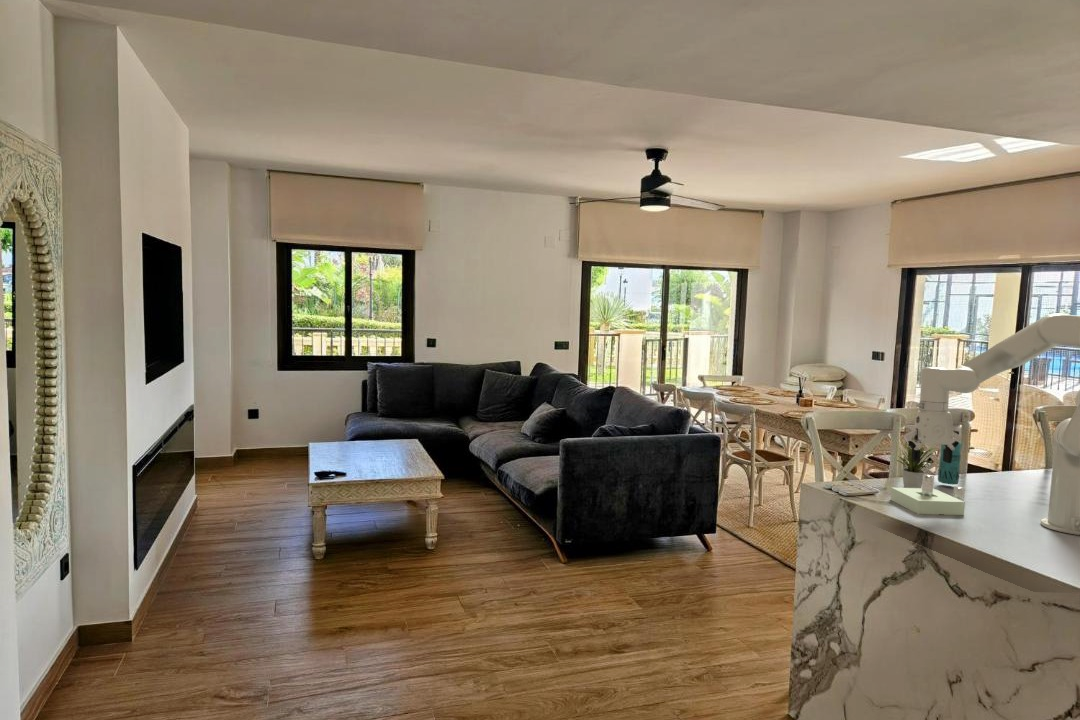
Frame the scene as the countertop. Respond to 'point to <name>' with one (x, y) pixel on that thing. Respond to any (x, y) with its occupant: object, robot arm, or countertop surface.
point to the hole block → (927, 501)
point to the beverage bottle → (950, 466)
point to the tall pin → (927, 485)
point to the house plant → (913, 469)
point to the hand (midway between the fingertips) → (931, 462)
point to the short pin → (959, 493)
